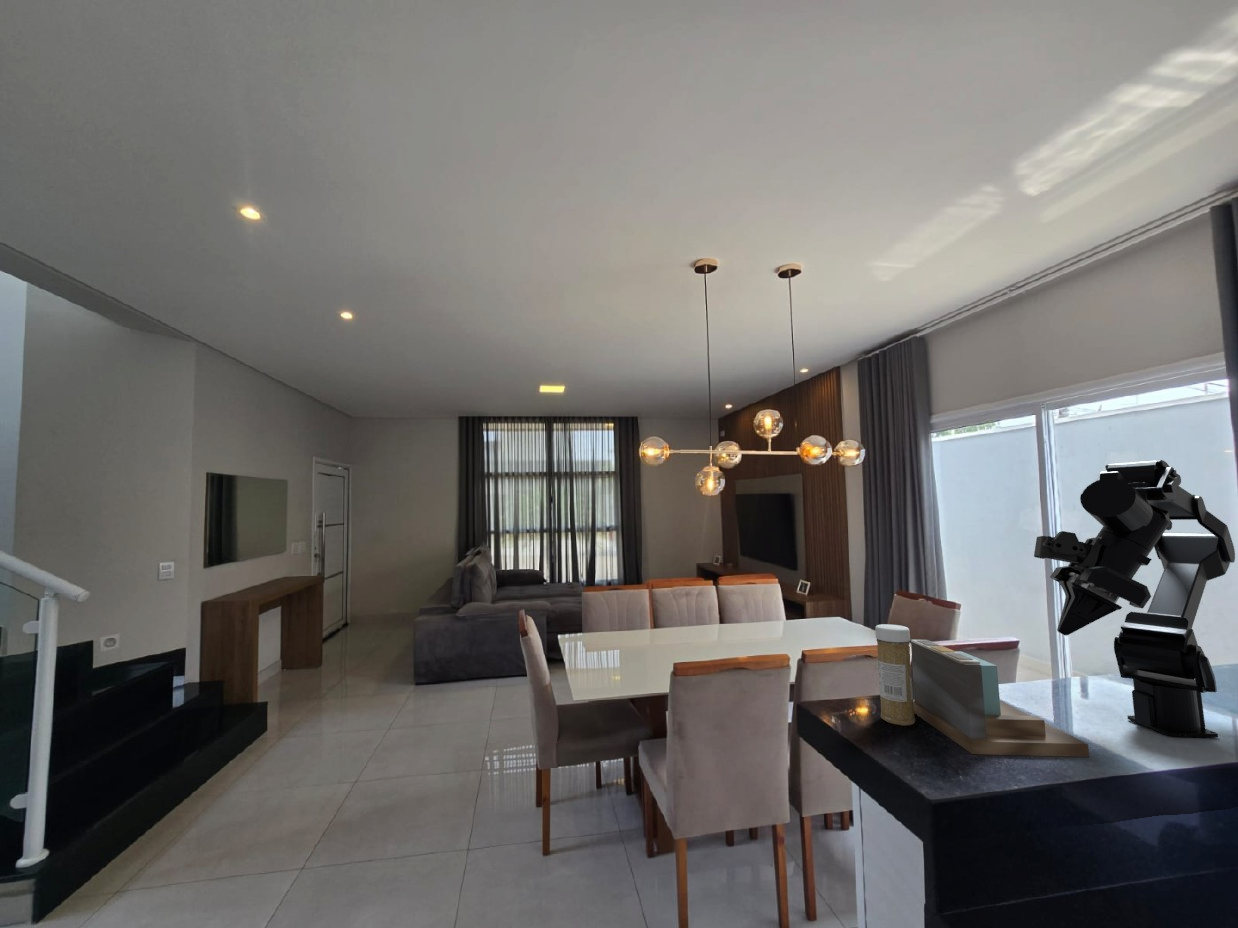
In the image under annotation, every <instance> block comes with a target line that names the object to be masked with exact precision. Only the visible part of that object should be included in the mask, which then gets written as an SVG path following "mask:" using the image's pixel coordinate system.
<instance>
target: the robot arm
mask: <svg viewBox="0 0 1238 928" xmlns="http://www.w3.org/2000/svg"><path fill="white" fill-rule="evenodd" d="M1104 468H1105V471H1101V472H1099V474H1098V475H1097V477H1096V479H1095V481H1094V482H1091V483H1090V484H1089V485H1087V486H1086V487H1085V488H1084V489H1083V491H1082V492H1081V494H1080V497H1079V499H1080V504H1081V506H1082V508H1083V509H1084V510H1085V511H1086V513H1087V514H1089V515H1090V516H1091V517H1092V518H1094V519H1095V520H1096V521H1097V522H1098V523H1099V524H1100V525H1101V526H1102V527H1101V529H1100V531H1099V532H1098V533H1097V535H1096V536H1095V537H1091V538H1087V539H1086V540H1085V541H1084V542H1083V541H1080V540H1079V538H1078V537H1077V534H1076V533H1075V532H1069V531H1065V530H1064V531H1063V530H1062V531H1059V532H1057V534H1055V536H1054V537H1053V536H1050V535H1039V536H1036V541H1035V546H1034V553H1033V557H1034V558H1037V559H1043V560H1045V559H1050V560H1055V561H1060V562H1064V563H1065V562H1066V563H1069V564H1068V565H1063V566H1058V567H1055V569H1054V570H1053V572H1052V573H1051V575H1050V576H1049V578H1050V579H1052V580H1054V581H1055V582H1056V583H1057V582H1058V583H1059V586H1060V587H1061V589H1062V590H1063V592H1064V594H1065V599H1064V603H1063V607H1062V610H1061V615H1060V618H1059V622H1058V625H1057V629H1056V631H1057V632H1058V633H1059V634H1061V635H1063V636H1067V637H1068V636H1069V635H1070V634H1073V633H1075V632H1077V631H1079V630H1081V629H1082V628H1084V627H1087V626H1088V625H1090V624H1091V623H1094V622H1096V621H1098V620H1100V619H1102V618H1104V617H1106V616H1108V615H1110V614H1112V613H1114V612H1116V611H1119V610H1120V611H1121V609H1122V608H1123V607H1122V606H1121V605H1119V604H1117V602H1118V600H1119V599H1120V598H1121V599H1123V600H1125V601H1127V602H1128V603H1129V604H1128V605H1129V606H1132V607H1134V608H1138V609H1144V608H1145V606H1147V604H1148V602H1149V601H1150V599H1151V598H1152V600H1151V602H1150V604H1149V607H1148V609H1147V612H1139V611H1130V612H1128V613H1127V614H1126V616H1125V618H1124V619H1125V620H1124V622H1123V624H1122V625H1121V626H1120V632H1119V634H1116V635H1115V637H1114V641H1113V651H1114V655H1115V658H1116V663H1117V666H1118V670H1119V674H1120V678H1122V679H1130V680H1133V681H1132V683H1133V690H1131V697H1132V706H1133V715H1127V716H1126V717H1127V720H1129V721H1132V722H1134V723H1136V724H1138V725H1141V726H1144V727H1146V728H1149V729H1151V730H1152V731H1153V730H1154V731H1156V732H1158V733H1161V734H1163V735H1166V736H1170V737H1193V738H1196V737H1198V738H1199V737H1202V738H1218V737H1219V733H1218V732H1216V731H1213V730H1211V729H1208V728H1206V723H1205V722H1206V721H1205V715H1204V714H1205V713H1204V706H1203V698H1202V697H1203V696H1202V694H1205V693H1217V692H1218V688H1217V687H1218V686H1217V681H1216V677H1215V673H1214V671H1213V669H1212V665H1211V662H1210V659H1209V658H1208V657H1207V656H1206V654H1205V652H1204V650H1203V649H1202V647H1201V646H1200V645H1198V642H1197V638H1196V635H1195V632H1194V629H1193V625H1194V622H1195V619H1196V616H1197V613H1198V610H1199V607H1200V603H1201V601H1202V597H1203V594H1204V592H1205V591H1204V590H1205V588H1206V585H1207V582H1208V581H1210V580H1214V579H1217V578H1219V577H1223V576H1224V575H1226V573H1227V571H1228V570H1229V567H1230V565H1231V563H1232V564H1233V563H1235V560H1236V551H1235V546H1234V543H1233V540H1232V536H1231V533H1230V530H1229V527H1228V525H1227V524H1226V523H1224V522H1223V521H1222V520H1220V518H1218V517H1217V516H1215V515H1214V514H1212V513H1211V512H1210V511H1208V510H1207V507H1206V505H1205V501H1204V499H1203V497H1202V496H1201V495H1195V494H1191V493H1190V492H1189V491H1187V490H1185V488H1183V487H1181V486H1180V485H1181V483H1182V477H1181V475H1180V474H1179V473H1177V469H1175V468H1174V467H1173V466H1172V467H1171V466H1170V465H1169V463H1168V462H1166V461H1165V460H1164V459H1158V460H1157V459H1156V460H1143V461H1132V462H1131V461H1129V462H1116V463H1115V462H1114V463H1108V464H1106V465H1105V467H1104ZM1173 520H1177V521H1179V520H1180V521H1181V520H1183V521H1184V520H1185V521H1186V520H1187V521H1188V520H1190V521H1194V520H1196V521H1197V523H1198V524H1199V525H1200V526H1201V527H1203V528H1204V529H1206V530H1207V532H1208V531H1209V532H1208V533H1207V532H1205V533H1204V532H1166V531H1170V530H1172V529H1173V522H1172V521H1173ZM1153 549H1154V550H1155V553H1156V555H1157V559H1159V560H1160V562H1161V565H1162V569H1163V572H1162V574H1161V577H1160V580H1158V581H1159V582H1158V584H1157V586H1156V589H1155V592H1154V595H1153V597H1152V595H1151V592H1150V590H1149V588H1148V586H1147V585H1145V584H1143V583H1141V582H1139V581H1138V580H1137V581H1136V580H1135V579H1133V578H1134V577H1135V575H1136V573H1137V572H1138V571H1139V570H1140V568H1141V566H1145V567H1147V566H1149V564H1150V562H1151V561H1152V558H1150V557H1148V556H1149V555H1150V553H1151V552H1152V550H1153Z"/></svg>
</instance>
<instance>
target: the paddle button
mask: <svg viewBox="0 0 1238 928" xmlns="http://www.w3.org/2000/svg"><path fill="white" fill-rule="evenodd" d="M954 651H955V652H958V653H960V654H963V655H965V656H968V657H970V658H973V659H975V660H977V661H980V665H981V669H982V682H983V695H984V708H985V715H1001V710H1000V701H1001V700H1000V688H999V687H1000V686H999V674H998V665H996V664H994V663H991V662H989V661H987V660H984V659H982V658H979V657H976V656H973V655H972V654H969V653H966V652H964V651H961V650H957V651H956V650H954Z"/></svg>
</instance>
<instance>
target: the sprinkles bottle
mask: <svg viewBox="0 0 1238 928" xmlns="http://www.w3.org/2000/svg"><path fill="white" fill-rule="evenodd" d="M874 629H875V631H874V632H875V638H876V642H877V665H878V684H879V687H878V688H879V696H880V711H881V712H880V718H881V719H882V720H883V721H885V722H887V723H889V724H892V725H897V726H905V727H906V726H912V725H914V724H915V722H916V718H915V713H914V709H913V708H914V706H913V699H914V684H913V676H912V666H911V654H910V653H911V652H910V651H911V650H910V644H911V633H910V628H909V627H907V626H904V625H900V624H890V623H889V624H887V623H886V624H884V623H881V624H877V625H876V626H875V627H874Z"/></svg>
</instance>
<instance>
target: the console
mask: <svg viewBox="0 0 1238 928" xmlns="http://www.w3.org/2000/svg"><path fill="white" fill-rule="evenodd" d="M910 648H911V650H910V651H911V664H912V666H911V667H912V684H913V706H914V708H913V709H914V715H916V714H917V715H916V716H917V717H919V718H920V719H922V720H923V721H925V723H928V724H929V725H930V726H931V727H933V728H935V729H936V730H937V731H939V732H940V733H942V734H943V735H944V736H946V737H948V738H949V739H951V741H953V742H954V743H956V744H958V745H959V746H960V747H962V748H963V749H965V750H966V751H967V752H969V753H970V754H971V755H991V756H992V755H993V756H994V755H996V756H998V755H1002V756H1036V757H1038V756H1039V757H1043V756H1044V757H1081V758H1083V757H1085V758H1089V757H1090V751H1089V750H1090V749H1089V743H1087V742H1085V741H1083V740H1081V739H1080V738H1077V737H1075V736H1073V735H1071V734H1069V733H1067V732H1065V731H1063V730H1061V729H1059V728H1057V727H1055V726H1053V725H1051V724H1049V723H1047V722H1046V721H1045V719H1043V718H1041V717H1039V716H1037V715H1031V714H1029V713H1027V712H1025V711H1022V710H1021V709H1019V708H1017V707H1015V706H1012V705H1011V704H1009V703H1007V702H1005V701H1002V700H1000V710H1001V715H985V708H984V695H983V682H982V669H981V665H980V661H977V660H975V659H973V658H970V657H968V656H965V655H963V654H960V653H958V652H955V651H956V650H953V649H950V648H948V647H946V646H943V645H941V644H938V643H936V642H933V641H931V640H929V639H910Z"/></svg>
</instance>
